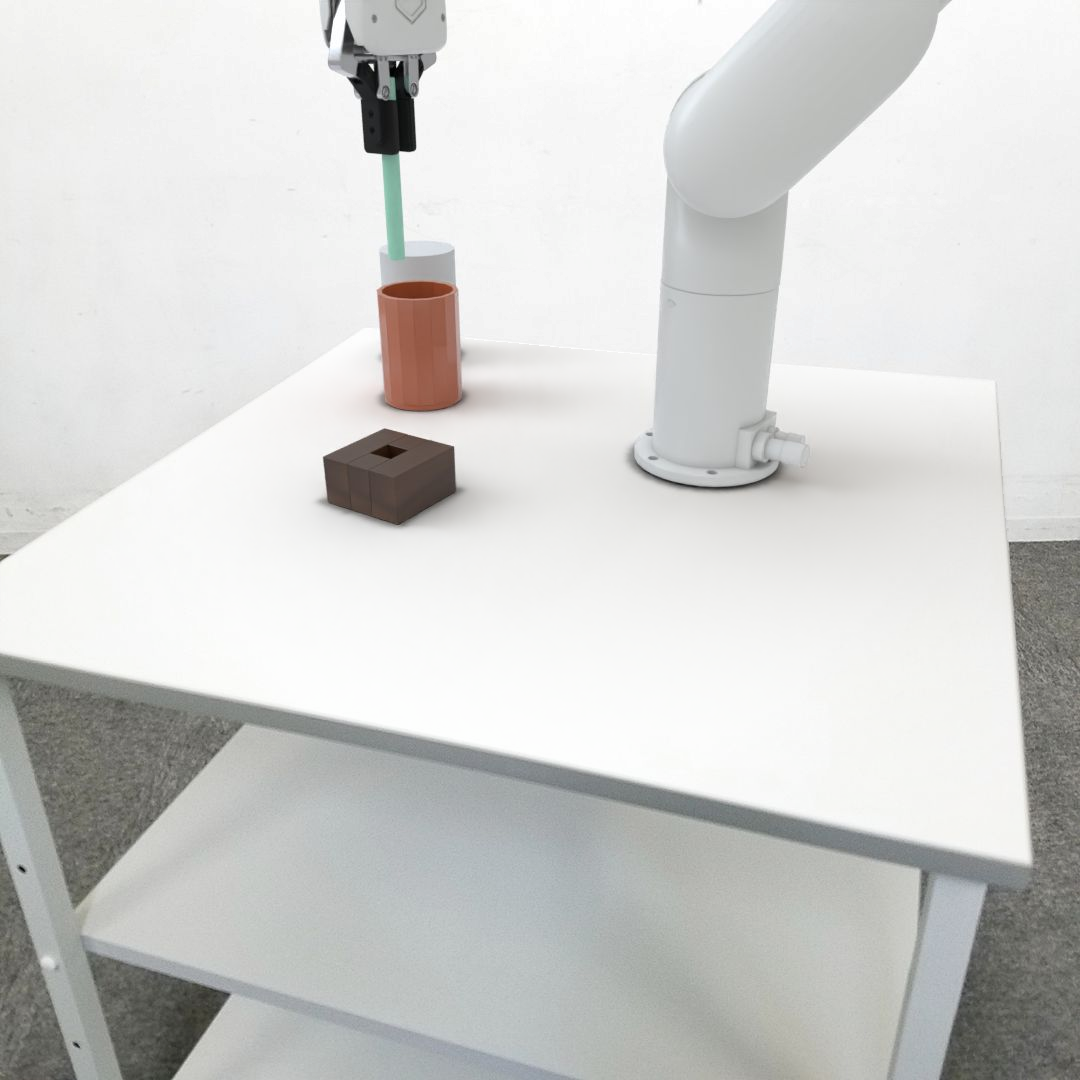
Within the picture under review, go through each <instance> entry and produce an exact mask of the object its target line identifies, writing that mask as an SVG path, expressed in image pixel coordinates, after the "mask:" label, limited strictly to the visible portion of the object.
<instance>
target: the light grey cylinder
mask: <svg viewBox="0 0 1080 1080" xmlns="http://www.w3.org/2000/svg"><path fill="white" fill-rule="evenodd" d="M404 246H405V259H404V260H399V261H393V260H389V258H388V243H387V244H384V245H382V246H381V247H379V249H378V250H379V266H380V280H381V281H380V282H381V286H384V285H387V284H390V283H395V282H402V281H414V280H430V281H440V282H446V283H450V284H452V285H455V286H456V287H457V280H456V279H457V278H456V277H457V276H456V253H455V251H456V250H455V246H454V245H452V244H451V243H447V242H443V241H435V240H406V241H405V240H404Z"/></svg>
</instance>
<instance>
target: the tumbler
mask: <svg viewBox="0 0 1080 1080" xmlns="http://www.w3.org/2000/svg"><path fill="white" fill-rule="evenodd" d="M376 304H377V316H378V318H377V319H378V330H379V331H378V332H379V343H380V345H379V346H380V357H381V358H380V359H381V373H382V381H383V382H382V384H383V394H384V401H385V403H387V405H389V406H390V407H393V408H396V409H399V410H404V411H411V412H413V411H415V412H427V411H434V410H436V411H437V410H440V409H442V410H443V409H445V408H449V407H451V406H455V404H458V403H459V402H460V401H461V400H462V396H463V394H462V393H463V379H462V378H463V376H462V352H461V351H462V350H461V349H462V348H461V326H460V324H461V323H460V322H461V321H460V297H459V288H458V286H457V285H456V286H455V285H452V284H450V283H446V282H440V281H430V280H414V281H402V282H395V283H390V284H387V285H384V286H382V285H381V286H380V287H379V288H377V289H376Z"/></svg>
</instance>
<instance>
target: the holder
mask: <svg viewBox="0 0 1080 1080" xmlns="http://www.w3.org/2000/svg"><path fill="white" fill-rule="evenodd" d="M455 454H456V453H455V446H454V445H452V444H451V445H450V444H447V443H443V442H439V441H435V440H431V439H426V438H423V437H419V436H417V435H416V436H415V435H412V434H408V433H405V432H402V431H401V432H400V431H397V430H393V429H389V428H385V427H384V428H382V429H379V430H378V431H375V432H373V433H371V434H369V435H366V436H364V437H362V438H360V439H357V440H355V441H353V442H352V443H349V444H347V445H345V446H343V447H340V448H339V449H336V450H334V451H332V452H330V453H327V454H326V455H323V456H322V463H323V473H324V480H325V482H324V483H325V490H326V501H327V503H329V504H332V505H335V506H339V507H342V508H345V509H348V510H351V511H354V512H357V513H360V514H363V515H366V516H370V517H373V518H376V519H379V520H381V521H385V522H388V523H391V524H395V525H400V524H402V523H403V522H405V521H407V520H410V518H412V517H414V516H415V515H417V514H419V513H421V512H423V511H424V510H426V509H427V508H429V507H431V506H433V505H435V504H436V503H438V502H440V501H442V500H443V499H445V498H447V497H448V496H450V495H452V494H454V493H456V492H457V479H456V477H457V476H456V458H455V456H456V455H455Z"/></svg>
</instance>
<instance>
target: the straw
mask: <svg viewBox="0 0 1080 1080" xmlns="http://www.w3.org/2000/svg"><path fill="white" fill-rule="evenodd" d="M390 85H391V97H390V99H389V100H396V91H395V78H394V77H390ZM400 160H401V159H400V152H399V153H398V154H396V155H384V154H381V165H382V181H383V195H384V211H385V227H386V240H387V241H386V242H387V244H388V258H389V260H393V261H399V260H404V259H405V246H404V242H405V231H404V230H405V229H404V212H403V197H402V196H403V195H402V194H403V193H402V178H401V162H400Z"/></svg>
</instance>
